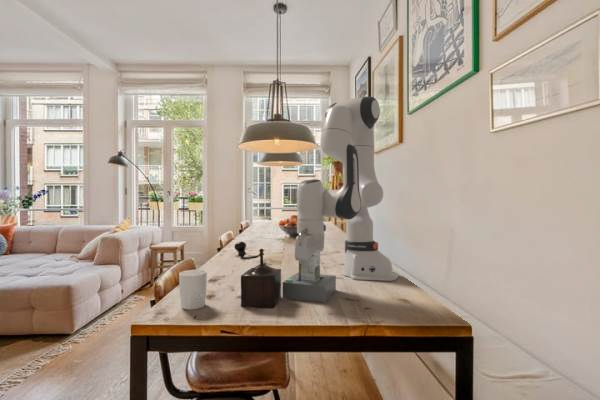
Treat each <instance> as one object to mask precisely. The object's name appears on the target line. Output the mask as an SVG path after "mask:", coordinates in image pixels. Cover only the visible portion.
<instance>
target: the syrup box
mask: <svg viewBox="0 0 600 400" xmlns="http://www.w3.org/2000/svg"><path fill="white" fill-rule="evenodd" d="M308 267H309V272H308V273H303V272H302V266H301V261H298V272H299V281H304V282H314V283H318V282H319V281H320V274H321V252H320V251H319V250H317V251H315V252H313V256H312V257H311V258H310V259H308Z"/></svg>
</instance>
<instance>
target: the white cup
mask: <svg viewBox="0 0 600 400" xmlns="http://www.w3.org/2000/svg"><path fill="white" fill-rule="evenodd" d="M207 279H208V271H207V269H206V270H205V269H200V268H199V269H188V270H187V269H186V270H183V271H181V272H179V273H178V282H179V296H180V297H179V299H180V307H181V308H182V309H181V310H186V311H187V310H189V311H190V310H197V309H201V308H203V307H205V306H206V296H207V283H208V282H207V281H208V280H207Z"/></svg>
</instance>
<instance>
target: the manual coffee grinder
mask: <svg viewBox="0 0 600 400" xmlns="http://www.w3.org/2000/svg"><path fill="white" fill-rule="evenodd" d="M246 248H247V244H246V242H245V241H238V242H236V243H235V244H234V249H235V250H236V252H237V253H238V254H237V256H238V257H240V260H243V261H244V260H245V261H246V260H251V259H253V260H254V259H257V258H259V262H260V263H259V264H258V265H256V266H254V267H250V269H248V270H246V271H245V272H244V273H243V274H241V275H240V306H241V307H243V308H256V309H275V307H277V305H278V304H279V303H280V301H281V299H282V269H281V268H275V267H271V266H269V265H267V263H266V262H264V256H265V253H264V249H263V248H260V249H259V253H258V254H256V255H249V256H246V255H247V253H246Z"/></svg>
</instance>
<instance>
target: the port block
mask: <svg viewBox="0 0 600 400" xmlns="http://www.w3.org/2000/svg"><path fill="white" fill-rule="evenodd" d="M336 279H337V277H336V275H331V274H322V273H320V281H319V282H318V283H314V282H304V281H299V271H298V272H296V273H295V274H293V275H291V276H290V277H288V278H287V279H285V280H284V281H282V298H283V299H289V300H290V299H291V300H298V301H306V302H307V301H308V302H314V303H324V304H325V303H326V302H327V301H328V300H329V298H330V297H331V296H332V295H333V294H334V293H335V291H337V290H336V289H337V287H336V286H337V281H336Z"/></svg>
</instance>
